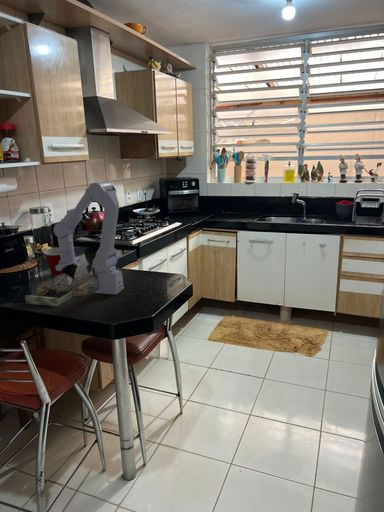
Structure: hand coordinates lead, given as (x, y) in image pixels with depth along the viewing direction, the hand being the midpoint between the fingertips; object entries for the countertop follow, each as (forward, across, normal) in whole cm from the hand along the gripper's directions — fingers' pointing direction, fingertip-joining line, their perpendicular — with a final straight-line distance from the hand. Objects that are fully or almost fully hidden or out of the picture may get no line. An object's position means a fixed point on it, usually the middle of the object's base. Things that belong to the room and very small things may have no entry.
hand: (70, 281), depth 160 cm
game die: (+3, +5, 0) cm, 6 cm away
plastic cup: (+3, -14, -17) cm, 23 cm away
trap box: (+2, +8, 0) cm, 9 cm away
